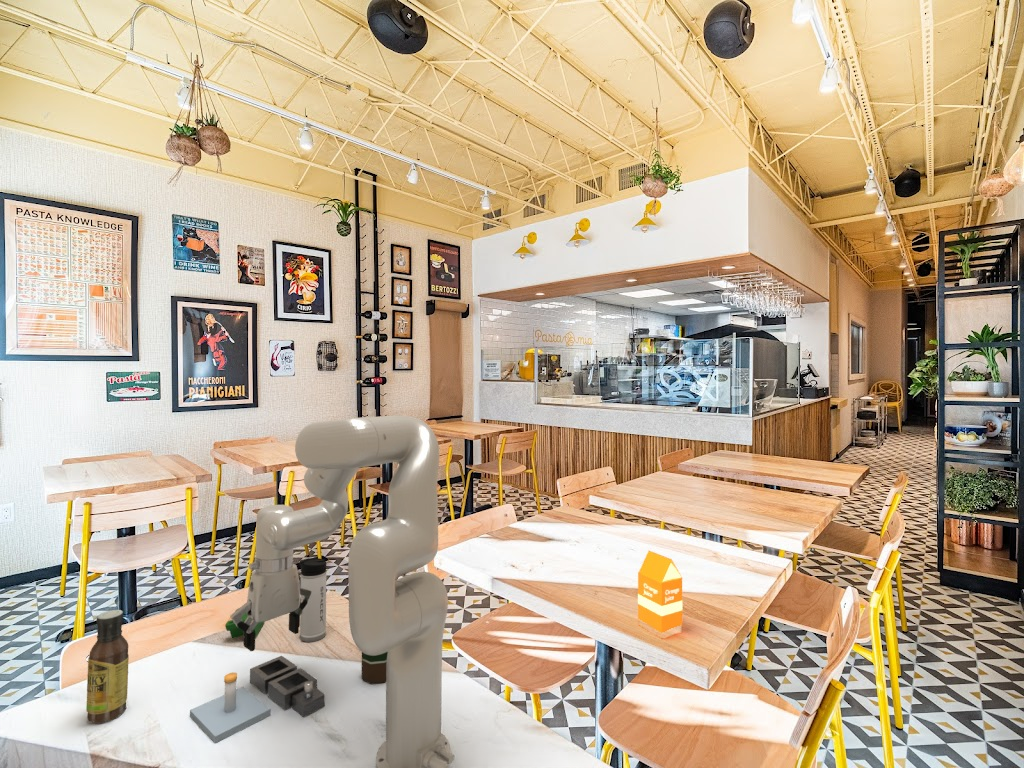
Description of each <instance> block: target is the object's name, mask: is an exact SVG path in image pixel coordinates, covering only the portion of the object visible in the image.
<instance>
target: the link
mask: <svg viewBox="0 0 1024 768" xmlns="http://www.w3.org/2000/svg"><path fill="white" fill-rule="evenodd" d="M307 681H312V682H313V686H314V687H315V688H317V689H318V678H316V677H314V676H313V675H311V674H310V673H308V672H307V671H306V670H303V669H302V668H301V667H300V668H299V667H298V668H297V670H295V671H292V672H290V673H288V674H286V675H284V676H281V677H279V678H277V679H275V680H273V681H270V682H268V694H267V697H268V699H269V700H271V701H272V702H273V703H274V704H276V705H277V706H278V707H280V708H281V709H282V710H283V711H286V710H288V709H292V696H294V695H296V694H298V693H300V692H302V691H304V684H305V683H306V682H307Z"/></svg>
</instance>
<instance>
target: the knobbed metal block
mask: <svg viewBox="0 0 1024 768" xmlns="http://www.w3.org/2000/svg"><path fill="white" fill-rule="evenodd" d="M325 696H326V694H325V693H324V692H322V691H321V690H319V689H318V687H317V688H315V687H314V686H313V682H312V681H307V682H306V683H305V684H304V691H302V692H300V693H298V694H296V695H294V696H292V707H291V709H292V710H294V711H295V712H296V713H297V714H299V715H300V716H301V717H302V718H305V717H307V716H310V715H311V714H313V713H315V712H316V711H319V710H320V709H322V708H324V707H325V706H326V703H325V702H326V699H325V698H326V697H325Z"/></svg>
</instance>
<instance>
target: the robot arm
mask: <svg viewBox="0 0 1024 768" xmlns="http://www.w3.org/2000/svg"><path fill="white" fill-rule="evenodd" d="M294 452H295V456H296V459H297V461H298V462H299V464H300V465H302V466H303V467H305V468H307V470H306V471H305V472H304V476H303V482H304V487H305V488H306V489H307V491H308V492H309V494H312V495H313V496H314V497H316V498H317V499H319V500H321V502H320V503H319V504H318V505H315V506H312V507H307V508H301V509H298V510H294V508H293V507H292V506H290V505H286V504H272V505H266V506H264V507H262V508H260V509H259V510H258V511H257V513H256V521H255V522H256V524H255V525H256V528H255V529H256V531H255V533H256V534H255V557H254V561H253V562H251V563H249V564H248V569H249V570H250V571H252V573H251V577H250V578H249V579H250V580H249V584H248V590H247V591H248V592H247V597H246V598H247V599H246V602H245V603H244V604H243V605H242V606H240V607H238V608H239V609H238V608H237V609H238V610H237V609H236V610H237V611H236V610H235V611H234V612H233V613H232V614H231V615H230V619H231V620H233V622H234V623H235V625H236V626H237V627H239V628H240V629H242V630H243V631H244V635H243V638H242V639H243V641H242V642H243V646H244V648H245V649H247V650H248V651H249V652H254V651H255V649H256V637H255V632H254V631H253V630H254V628H255V627H256V625H257V624H258V622H259V623H261V622H264V623H265V622H268V621H271V620H274V619H276V618H279V617H282V616H285V615H287V614H288V631H289V632H290V633H293V634H295V635H297V634H299V633H300V632H299V631H300V615H301V614H302V612H303V611H302V610H303V609H304V608H305V606H306V605H307V603H308V600H309V597H310V595H311V591H310V590H308V589H303V588H301V582H300V575H299V571H298V567H297V566H298V565H296V564H295V563H294V549H296V548H300V547H303V546H306V545H310V544H313V543H317V542H320V541H323V540H326V539H328V538H330V537H331V536H332V535H333V534H335V532H336V531H337V530H338V528H339V527H340V526H341V524H342V522H343V521H344V519H345V518H346V516H347V514H348V511H349V510H348V509H349V497H348V492H347V488H348V486H349V484H351V481H352V480H353V478H354V477H355V475H356V474H357V472H358V470H359V469H360V468H367V467H372V466H378V465H385V464H390V463H397V464H398V466H397V468H396V470H395V471H394V473H393V475H392V477H391V481H390V483H389V487H388V494H387V499H388V507H387V508H388V509H387V510H388V511H387V515H386V519H383V520H380V521H376V522H373V523H370V524H367V525H366V526H364V527H362V528H361V529H360V530H359V531H358V532H357V533H356V534H355V536H354V538H353V539H352V541H351V545H350V548H349V551H348V559H347V560H348V563H347V564H348V566H347V569H348V571H347V572H348V618H349V619H348V621H349V627H350V635H351V636H352V637H351V638H352V640H353V642H354V644H355V646H356V647H357V649H358V650H359V651H360V652H361V653H362V652H363V653H364V654H367V655H371V656H376V655H381V654H383V653H386V652H388V654H387V664H386V682H385V741H384V742H383V743H382V744H381V745H380V747H379V748H378V750H377V753H376V759H375V761H376V762H375V763H376V764H375V765H376V768H451V766H450V765H451V764H452V763H453V762H454V760H455V754H454V753H452V752H451V745H450V743H449V740H448V739H447V737H446V735H445V734H443V733H442V678H443V677H442V676H443V673H442V672H443V671H442V668H443V642H444V641H443V639H444V631H445V625H446V619H447V614H448V608H449V596H448V592H447V588H446V586H445V584H444V581H442V579H441V578H440V577H439V576H437V575H436V574H435V573H432V572H429V571H416V570H418V569H420V568H422V567H425V566H426V565H428V564H430V563H431V562H432V561H434V559H435V557H436V555H437V552H438V550H439V549H438V548H439V511H438V510H439V505H438V476H439V466H440V447H439V441H438V438H437V437H436V433H434V431H433V429H432V428H431V427H430V426H429V425H428V424H427V423H426V421H424V420H423V419H420V418H418V417H415V416H410V415H381V416H365V417H363V416H362V417H352V418H343V419H336V420H335V419H334V420H327V421H314V422H311V423H309V424H307V425H306V426H304V427H303V428H302V429H301V431H300V432H299V434H298V435H297V438H296V440H295V444H294ZM413 571H416V572H414V573H411V572H413ZM406 574H407V575H406ZM399 577H401V578H399ZM397 578H398V579H397ZM301 595H302V597H301V599H300V596H301ZM246 612H247V616H248V617H247V619H246V620H245V622H243V621H242V619H241V617H242V616H243V615H244V614H245V613H246Z"/></svg>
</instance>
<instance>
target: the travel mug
mask: <svg viewBox="0 0 1024 768" xmlns="http://www.w3.org/2000/svg"><path fill="white" fill-rule="evenodd" d="M299 566H300V588H303V589H308V590H310V591H311V595H310V597H309V600H308V603H307V605H306V606H305V608H304V609H303V610H302V611H303V612H302V614H301V615H300V627H299V631H300V632H299V638H300V640H301V641H303V642H304V643H313V642H316V641H320V640H322V639H323V638H325V636H326V635H327V561H326V560H325V559H323V558H318V557H311V558H305V559H300V560H299ZM301 597H302V595H300V599H301Z"/></svg>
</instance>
